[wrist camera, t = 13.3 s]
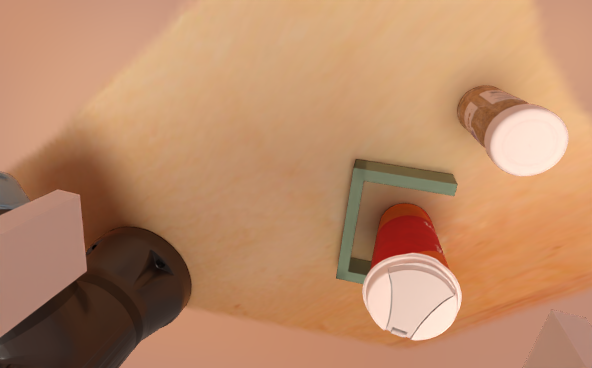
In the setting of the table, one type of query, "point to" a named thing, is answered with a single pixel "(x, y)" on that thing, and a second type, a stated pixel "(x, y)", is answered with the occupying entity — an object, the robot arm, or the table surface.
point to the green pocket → (390, 176)
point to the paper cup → (410, 277)
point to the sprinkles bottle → (513, 130)
